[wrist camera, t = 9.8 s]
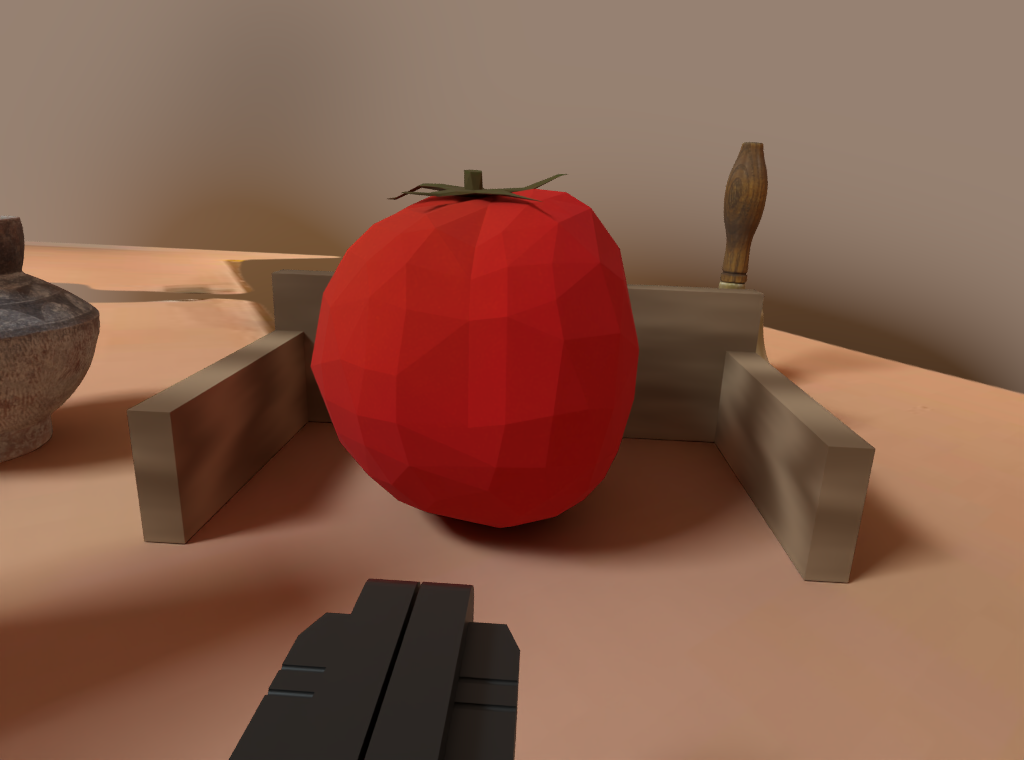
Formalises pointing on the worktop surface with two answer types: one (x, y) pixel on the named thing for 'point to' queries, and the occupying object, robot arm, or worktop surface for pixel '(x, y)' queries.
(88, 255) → the worktop surface
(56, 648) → the worktop surface
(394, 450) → the tomato
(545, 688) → the worktop surface
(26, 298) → the pottery
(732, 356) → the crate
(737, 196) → the hand bell
